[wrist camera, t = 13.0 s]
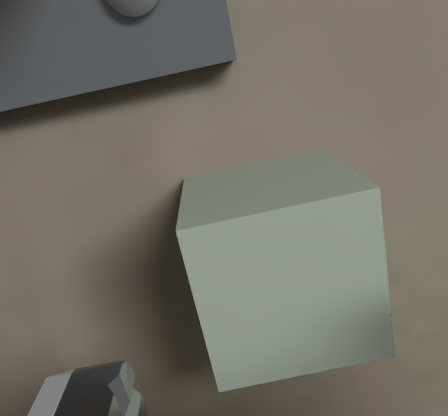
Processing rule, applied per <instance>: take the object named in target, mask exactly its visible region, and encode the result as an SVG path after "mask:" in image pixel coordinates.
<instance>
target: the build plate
mask: <svg viewBox="0 0 448 416" xmlns="http://www.w3.org/2000/svg"><path fill="white" fill-rule="evenodd" d="M233 60H237V59H236V54H235V48H234V43H233V37H232V32H231V27H230V21H229V16H228V11H227V5H226V0H0V112H1V111H6V110H10V109H15V108H20V107H24V106H29V105H33V104H38V103H42V102H47V101H51V100H56V99H60V98H65V97H69V96H74V95H79V94H83V93H88V92H92V91H97V90H101V89H106V88H110V87H115V86H119V85H124V84H129V83H133V82H138V81H142V80H147V79H151V78H156V77H160V76H165V75H169V74H174V73H178V72H183V71H188V70H192V69H197V68H201V67H206V66H210V65H215V64H219V63H224V62H228V61H233Z"/></svg>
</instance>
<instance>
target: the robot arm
mask: <svg viewBox="0 0 448 416" xmlns="http://www.w3.org/2000/svg"><path fill="white" fill-rule="evenodd" d="M134 381H135V374H134V371H133V369H132V366H131V364H130V363H129V362H128V361H126V360H125V361H119V362H113V363H107V364H101V365H95V366H89V367H83V368H77V369H73V370H67V371H62V372H56V373H52V374H51V375H49V376H48V377H46V379H45V381H44V383H43V385H42V387H41V389H40V391H39V393H38V395H37V397H36V399H35V401H34V403H33V405H32V407H31V409H30V411H29V413H28V415H27V416H147V412H146V407H145V403H144V400H143V397H142V394H141V393H139V392H138V391H136V390H135V389H133V386H134Z"/></svg>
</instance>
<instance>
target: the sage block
mask: <svg viewBox="0 0 448 416" xmlns="http://www.w3.org/2000/svg"><path fill="white" fill-rule="evenodd" d="M176 235H177V238H178V242H179V246H180V249H181V253H182V257H183V261H184V264H185V268H186V272H187V276H188V279H189V283H190V287H191V290H192V294H193V298H194V302H195V305H196V309H197V313H198V317H199V320H200V324H201V328H202V331H203V335H204V339H205V343H206V346H207V350H208V354H209V358H210V361H211V365H212V369H213V372H214V376H215V380H216V384H217V387H218V391H219V392H224V391H228V390H233V389H238V388H243V387H248V386H253V385H258V384H263V383H268V382H272V381H277V380H282V379H287V378H292V377H297V376H302V375H307V374H312V373H316V372H321V371H326V370H331V369H336V368H341V367H346V366H351V365H356V364H360V363H365V362H370V361H375V360H380V359H385V358H390V357H395V353H394V342H393V331H392V319H391V308H390V297H389V286H388V274H387V263H386V252H385V241H384V230H383V218H382V207H381V196H380V187H378V186H377V185H375V184H374V183H373V182H371V181H370V180H368V179H367V178H365V177H364V176H363V175H361V174H360V173H358V172H357V171H355V170H354V169H352V168H351V167H350V166H348V165H347V164H345V163H344V162H342V161H341V160H339V159H338V158H337V157H335V156H334V155H332V154H331V153H329V152H328V151H327V150H325V149H324V148H323V149H319V150H314V151H309V152H305V153H300V154H296V155H291V156H286V157H282V158H277V159H272V160H268V161H263V162H259V163H254V164H249V165H245V166H240V167H235V168H231V169H226V170H222V171H217V172H212V173H208V174H203V175H198V176H194V177H189V178H185V179H184V182H183V188H182V194H181V201H180V207H179V213H178V219H177V225H176Z"/></svg>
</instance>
